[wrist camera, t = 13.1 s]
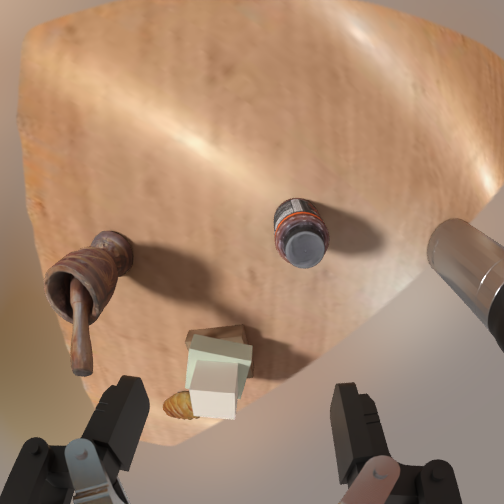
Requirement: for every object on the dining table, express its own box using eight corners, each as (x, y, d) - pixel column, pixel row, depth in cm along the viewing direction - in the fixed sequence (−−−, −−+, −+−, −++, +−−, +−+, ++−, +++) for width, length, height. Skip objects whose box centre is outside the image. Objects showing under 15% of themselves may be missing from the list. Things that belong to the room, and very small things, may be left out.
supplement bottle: (326, 224, 41) (345, 259, 30) (289, 247, 42) (296, 288, 32) (302, 187, 39) (315, 211, 29) (264, 212, 41) (263, 244, 30)
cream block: (238, 363, 43) (234, 393, 37) (238, 390, 45) (235, 419, 39) (196, 360, 43) (189, 389, 37) (200, 387, 45) (193, 415, 39)
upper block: (252, 345, 45) (251, 361, 42) (241, 384, 49) (240, 399, 46) (193, 333, 45) (189, 348, 42) (189, 373, 49) (185, 388, 45)
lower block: (243, 322, 48) (241, 336, 45) (253, 363, 51) (253, 377, 48) (189, 328, 49) (184, 341, 46) (204, 367, 52) (201, 381, 49)
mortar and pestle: (164, 263, 44) (106, 352, 26) (137, 300, 47) (82, 389, 29) (103, 216, 42) (17, 278, 23) (82, 257, 45) (7, 327, 26)
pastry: (177, 415, 59) (173, 428, 55) (156, 396, 57) (151, 410, 53) (211, 405, 57) (208, 420, 53) (191, 385, 55) (187, 400, 51)
